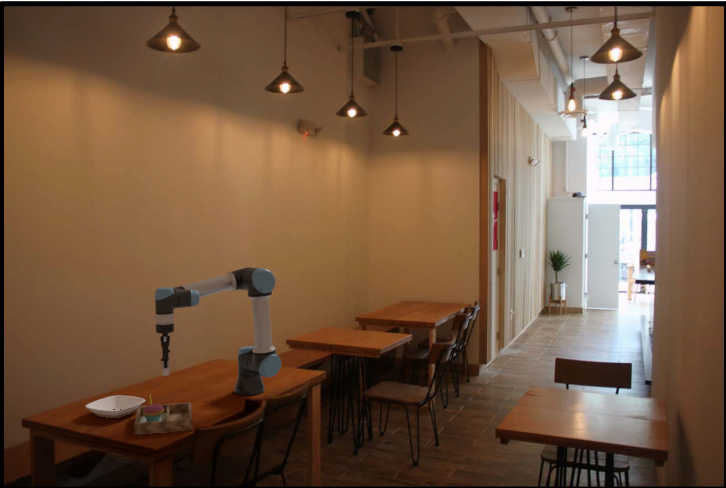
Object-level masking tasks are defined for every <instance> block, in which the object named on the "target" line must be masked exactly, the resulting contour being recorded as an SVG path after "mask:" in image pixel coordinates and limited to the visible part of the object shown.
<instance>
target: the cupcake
mask: <svg viewBox="0 0 726 488" xmlns="http://www.w3.org/2000/svg"><path fill="white" fill-rule="evenodd" d="M148 396H149V404H148V405H145V406H146V407H145V408H144V409H143V415H144V416H145V417H146V420H147V422H155V421H159V419H160V416H161V414H162V413H163V412H164V408H163V407H162V406H160V405H161V404H157V403H156V404H153V402H152V401H153V400H152V394H151V392H149V395H148Z"/></svg>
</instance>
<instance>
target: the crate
mask: <svg viewBox="0 0 726 488" xmlns="http://www.w3.org/2000/svg"><path fill="white" fill-rule="evenodd" d="M159 405H160V406H162V407H163V408H164V412H163V413H162V414H161V416H160V419H159V421H155V422H147V420H146V417H145V416H144V415H143V409H144V408H145V407H146V406H147V405H142V406H141V405H140V406H139V407H138V408H137V409H136V416H135V420H134V426H133V427H134V430H133V431H134V435H138V434H150V433H161V432H171V431H182V432H188V431H187V430H192V431H193V413H192V402H177V403H176V402H175V403H167V404H166V403H164V404H159ZM161 434H162V433H161Z"/></svg>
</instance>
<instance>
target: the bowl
mask: <svg viewBox="0 0 726 488" xmlns="http://www.w3.org/2000/svg"><path fill="white" fill-rule="evenodd" d="M145 402H146V399H144V398H143V397H138V396H132V395H122V394H121V395H111V396H107V397H104V398H103V397H102V398H100V399H96V400H94V401H92V402H89V403H88V404H85V405H84V407H85V408H86V409H87V410H88V411H91V412H92V413H93V414H94V415H96V416H97V417H99V416H100V418H102V417H106V418H105V419H108V418H118V419H121V418H120V417H122V418H124V417H123V416H125V417H127V416H129V415H132V414H133V413H134V412H135V411H137V409H138V407H139V406H141V405H143V404H144V403H145ZM113 409H115V410H113ZM120 409H121V410H120ZM126 415H127V416H126Z"/></svg>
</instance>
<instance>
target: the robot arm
mask: <svg viewBox="0 0 726 488" xmlns="http://www.w3.org/2000/svg"><path fill="white" fill-rule="evenodd" d="M275 287H276V278H275V276H274V274H273V272H272V271H271V270H269V269H266V268H263V267H243V268H239V269H236V270H233V271H229V272H226V274H224V275H220V276H216V277H213V278H208V279H203V280H200V281H196V282H191V283H187V284H182V285H180V286H174V287H166V286H165V287H158V288H156V289H155V292H154V302H155V303H154V305H155V316H153V318H154V319H155V333H156V334H161V335H160V339H159V341H160V346H161V350H162V352H161V353H162V354H161V355H162V357H161V358H160V362H161V364H162V365H161V368H162V370H161V371H162V377H164V376H170V354H169V353H171V349H169V348H170V341H171V335H169V334H171V333H173V332H175V324H174V322H175V311H174V309H183V308H191V307H195V306H198V305H199V304H200V301H201V298H202V297H203V298H204V297H207V296H211V295H214V294H218V293H222V292H226V291H231V292H234V291H247V297H248V298H249V299H250V300H251V310H252V311H251V312H252V324H253V325H252V327H253V336H254V338H253V339H254V345H252V346H243V347H240V348H239V349H238V351H237V379H236V382H235V385H234V393H235V394H237V395H241V396H255V395H259V394H262V393H264V392H265V385H264V382H263V381H264V380H263V378H272V377H275V376H277V374H278V372H279V371H280V370H281V367H282V360H281V357H280V356H279V355H278V354H277V348H276V347H275V346H274V345H273V335H272V322H271V306H270V297H271V296H272V294H273V293H272V291H273V290H274V288H275Z"/></svg>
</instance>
